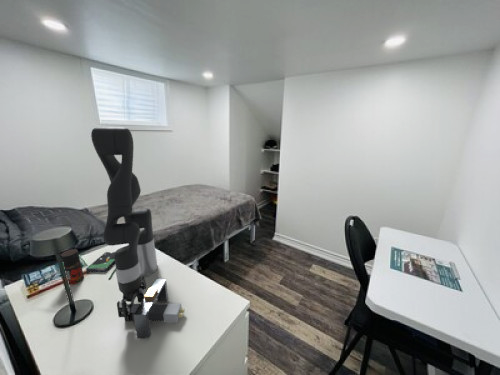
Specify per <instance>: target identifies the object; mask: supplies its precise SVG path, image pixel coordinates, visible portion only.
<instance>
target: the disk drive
mask: <svg viewBox="0 0 500 375" xmlns="http://www.w3.org/2000/svg"><path fill="white" fill-rule="evenodd" d="M115 252H116V251H114V252H110V251H105V252H104V253H102V255H100V256H99V257H98V258H96V260H94V261H93V262H92V263H91V264H90V265H88V266H87V267H86V268H85V270H86V273H107V272H109V271H110V270H111V269H112V268H113V267H114V265H115V260H114V253H115ZM115 266H116V265H115Z"/></svg>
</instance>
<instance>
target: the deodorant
mask: <svg viewBox="0 0 500 375" xmlns="http://www.w3.org/2000/svg"><path fill="white" fill-rule="evenodd" d="M61 256H62V259H63V262H64V266H63V268H64V267H65V270H64V272H65V271H66V274H65V276H66V275H67V278H68V280H69V284H70V285H69V284H68V285H69V286H74V285H77V284H80V283H81V282H83V281H84V279H85V275H84V271H83V268H82V263H81V258H80V254H79V251H78V249H76V248H72V249H68V250H65V251H63V252H62V253H60V257H61ZM62 259H61V260H62ZM67 278H66V279H67Z"/></svg>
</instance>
